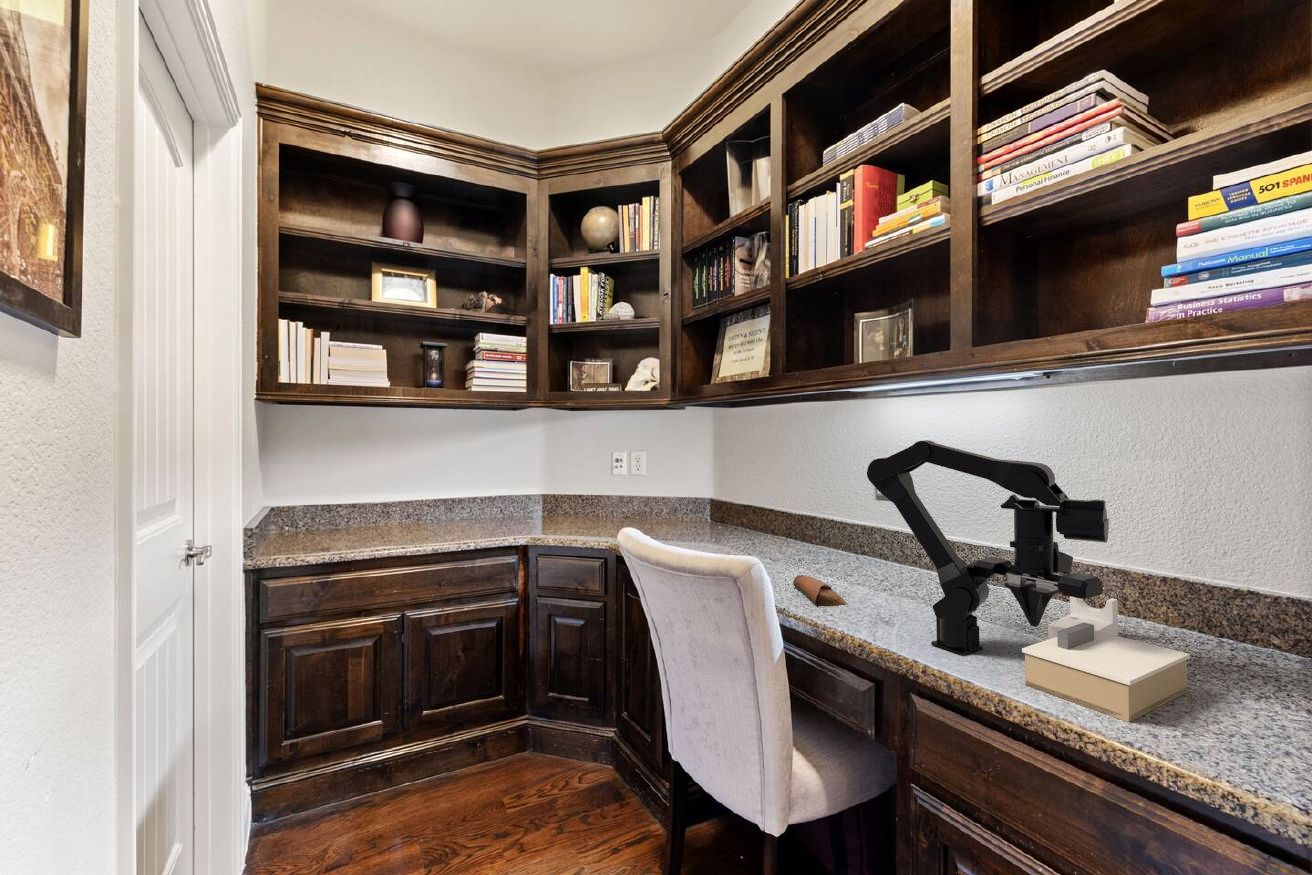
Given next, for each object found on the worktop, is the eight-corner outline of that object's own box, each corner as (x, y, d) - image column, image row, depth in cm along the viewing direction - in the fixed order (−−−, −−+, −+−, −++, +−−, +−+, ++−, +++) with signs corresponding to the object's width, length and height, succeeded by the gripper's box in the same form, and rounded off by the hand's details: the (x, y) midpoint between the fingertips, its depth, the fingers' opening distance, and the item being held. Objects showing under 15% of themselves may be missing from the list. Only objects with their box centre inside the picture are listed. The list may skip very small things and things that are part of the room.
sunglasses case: (851, 605, 140) (836, 581, 139) (826, 621, 139) (811, 597, 139) (824, 585, 158) (810, 564, 157) (801, 600, 157) (788, 578, 157)
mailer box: (1025, 685, 95) (1025, 654, 95) (1085, 662, 104) (1085, 633, 104) (1128, 722, 83) (1128, 686, 83) (1187, 692, 92) (1186, 659, 92)
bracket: (1075, 628, 122) (1075, 591, 122) (1117, 638, 116) (1117, 599, 116) (1048, 643, 114) (1047, 603, 114) (1091, 654, 108) (1091, 612, 108)
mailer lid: (1022, 652, 95) (1021, 632, 95) (1084, 630, 104) (1083, 613, 104) (1129, 685, 83) (1129, 663, 83) (1190, 657, 92) (1189, 637, 92)
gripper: (1119, 539, 99) (1120, 633, 99) (1007, 524, 115) (1008, 605, 116) (1083, 546, 94) (1084, 645, 94) (971, 530, 110) (972, 614, 110)
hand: (1034, 625), depth 104 cm, fingers closed
